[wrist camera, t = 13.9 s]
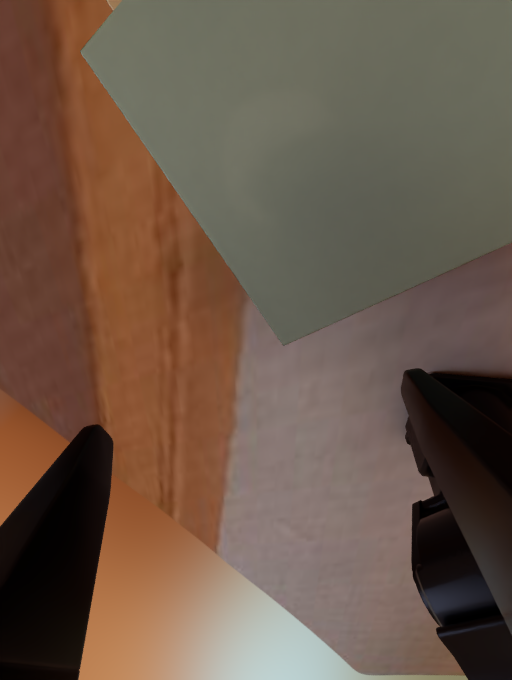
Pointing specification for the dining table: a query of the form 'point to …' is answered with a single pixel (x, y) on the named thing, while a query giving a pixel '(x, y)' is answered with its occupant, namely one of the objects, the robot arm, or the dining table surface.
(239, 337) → the dining table surface
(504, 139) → the cabinet
